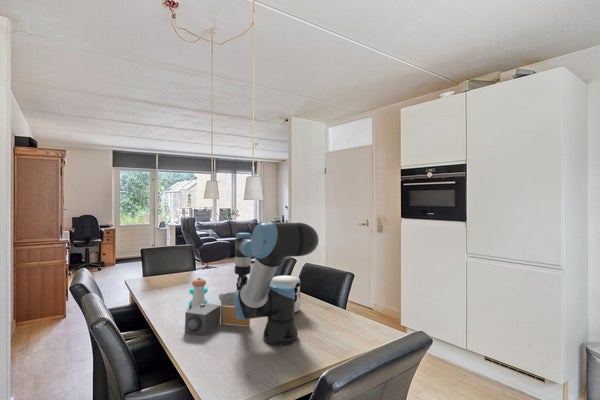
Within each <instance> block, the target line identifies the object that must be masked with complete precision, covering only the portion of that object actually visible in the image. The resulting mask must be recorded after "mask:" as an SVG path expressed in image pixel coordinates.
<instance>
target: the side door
mask: <svg viewBox="0 0 600 400" xmlns="http://www.w3.org/2000/svg"><path fill="white" fill-rule="evenodd" d="M221 324H224V325H231V326H232V325H234V326H243V327H249V326H251V319H246V320H245V319H242V320H239V319H238V318H237V317H236V312H235V306H223V305H222V306H221V310H220V325H221Z"/></svg>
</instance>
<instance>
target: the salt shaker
mask: <svg viewBox="0 0 600 400" xmlns="http://www.w3.org/2000/svg"><path fill="white" fill-rule="evenodd" d="M191 284H192V286H193V295H192V297H191V298H192V299H191V300H192V307H191V308H190V310H191V309H192V308H194V307H196V306H198V305H200V304H202V303H205V299H206V298H205V294H204V287H206V284H207V281H206V280H205V279H203V278H201V277H198V278H195V279H194V280H192V281H191Z"/></svg>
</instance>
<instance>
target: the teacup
mask: <svg viewBox="0 0 600 400" xmlns="http://www.w3.org/2000/svg"><path fill="white" fill-rule="evenodd" d="M234 293H235V291H234V292H225V293H220V294H218V298H219V300H220V305H221V306H222V305H223V306H235V304H234Z"/></svg>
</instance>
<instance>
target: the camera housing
mask: <svg viewBox="0 0 600 400" xmlns="http://www.w3.org/2000/svg"><path fill="white" fill-rule="evenodd" d="M191 308H192V307H191ZM191 308H190V309H188V310H187V311H185V318H184V319H185V320H184V333H187V334H194V335H200V336H202V335H203V336H206V335H207V334H209V333H210V332H211V331H213V330H214V329H215V328H217V327H218V326H219V325H221V304H213V303H207V304H206V303H202V304H200V305H198V306H196V307H194V308H192V309H191Z"/></svg>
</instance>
